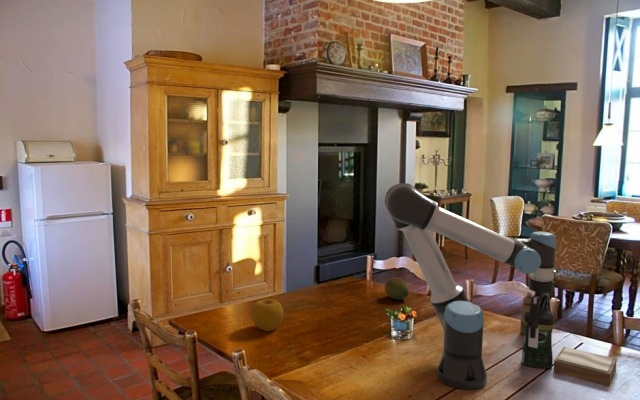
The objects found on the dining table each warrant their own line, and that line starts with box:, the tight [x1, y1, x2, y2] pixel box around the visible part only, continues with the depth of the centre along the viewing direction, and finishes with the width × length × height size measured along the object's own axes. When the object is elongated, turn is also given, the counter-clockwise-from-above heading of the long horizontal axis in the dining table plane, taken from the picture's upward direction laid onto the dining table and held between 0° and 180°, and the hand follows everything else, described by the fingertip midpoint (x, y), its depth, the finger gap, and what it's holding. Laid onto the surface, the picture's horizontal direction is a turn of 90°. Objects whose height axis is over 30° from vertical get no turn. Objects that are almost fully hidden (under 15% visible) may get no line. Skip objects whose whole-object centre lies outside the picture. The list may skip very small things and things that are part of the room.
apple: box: [250, 298, 284, 332], centre depth 201 cm, size 13×13×11 cm
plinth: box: [553, 346, 617, 387], centre depth 165 cm, size 14×16×4 cm
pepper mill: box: [519, 291, 533, 337], centre depth 197 cm, size 5×5×17 cm
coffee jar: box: [521, 309, 555, 369], centre depth 170 cm, size 10×8×19 cm
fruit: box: [384, 276, 409, 301], centre depth 241 cm, size 12×13×10 cm
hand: (538, 340), depth 170 cm, fingers open, 13 cm apart
